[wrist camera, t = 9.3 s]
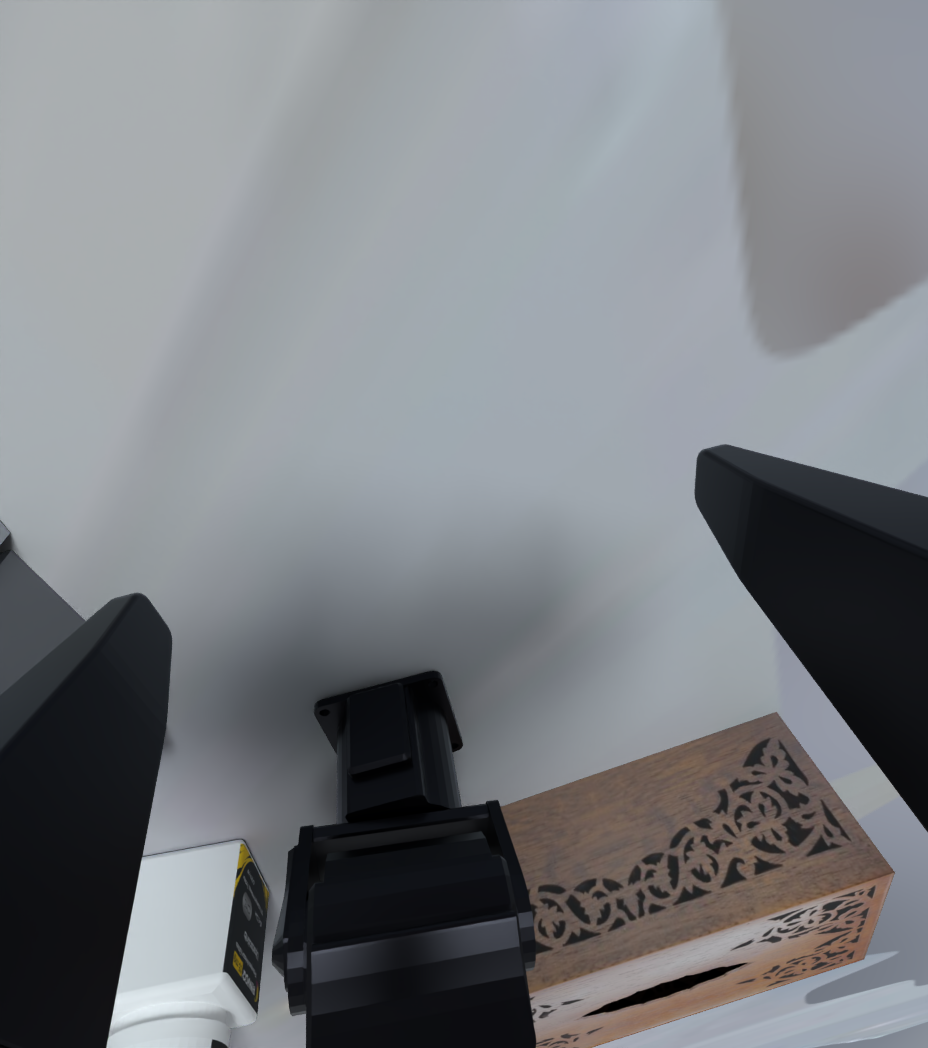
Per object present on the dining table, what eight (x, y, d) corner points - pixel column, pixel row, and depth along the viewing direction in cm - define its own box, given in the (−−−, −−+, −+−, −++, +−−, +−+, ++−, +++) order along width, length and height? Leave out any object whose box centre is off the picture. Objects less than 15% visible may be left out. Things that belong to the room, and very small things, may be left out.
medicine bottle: (270, 889, 38) (246, 1148, 29) (158, 911, 38) (94, 1185, 28) (244, 835, 34) (205, 1116, 25) (117, 858, 33) (26, 1159, 24)
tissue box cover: (774, 708, 37) (895, 872, 29) (771, 810, 45) (864, 959, 37) (400, 837, 38) (415, 1030, 30) (465, 913, 46) (491, 1079, 38)
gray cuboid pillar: (146, 676, 26) (110, 778, 22) (44, 712, 26) (-10, 819, 22) (13, 547, 21) (-63, 646, 17) (-109, 591, 21) (-214, 700, 17)
